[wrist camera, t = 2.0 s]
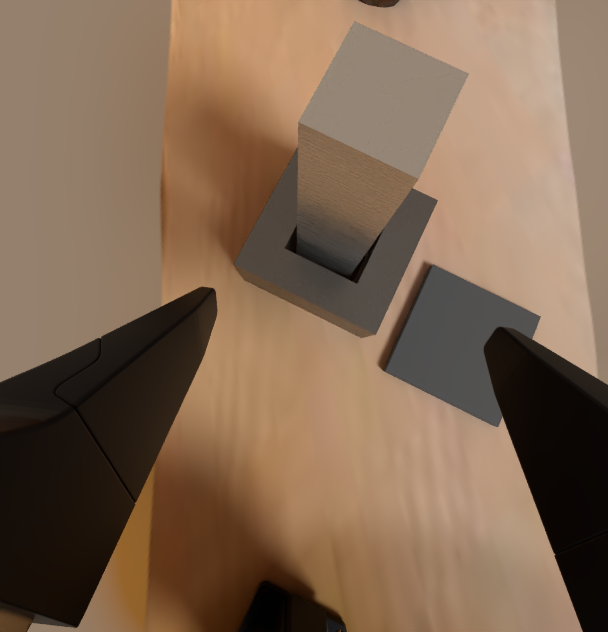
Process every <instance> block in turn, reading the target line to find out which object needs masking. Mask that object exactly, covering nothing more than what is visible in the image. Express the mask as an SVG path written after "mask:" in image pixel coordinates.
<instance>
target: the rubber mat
mask: <svg viewBox="0 0 608 632" xmlns="http://www.w3.org/2000/svg"><path fill="white" fill-rule="evenodd" d="M539 320H540V316H538V315H536V314H534V313H532V312H530V311H528V310H526V309H524V308H522V307H520V306H518V305H516V304H514V303H511V302H509V301H507V300H505V299H503V298H501V297H499V296H497V295H495V294H493V293H491V292H489V291H487V290H485V289H483V288H480V287H478V286H476V285H474V284H472V283H470V282H468V281H466V280H464V279H462V278H460V277H458V276H456V275H454V274H451V273H449V272H447V271H445V270H443V269H441V268H439V267H437V266H435V265H432V266H430V267H429V270H428V272H427V274H426V276H425V278H424V281H423V283H422V285H421V287H420V290H419V292H418V294H417V296H416V298H415V301H414V303H413V305H412V307H411V310H410V312H409V314H408V316H407V318H406V321H405V323H404V325H403V327H402V330H401V332H400V334H399V336H398V338H397V341H396V343H395V345H394V347H393V349H392V352H391V354H390V356H389V358H388V361H387V363H386V365H385V367H384V369H383V371H385V372H387V373H389V374H391V375H393V376H395V377H397V378H399V379H401V380H403V381H405V382H407V383H409V384H411V385H413V386H415V387H417V388H419V389H421V390H423V391H425V392H427V393H429V394H431V395H433V396H435V397H437V398H439V399H441V400H443V401H445V402H447V403H449V404H451V405H453V406H455V407H457V408H459V409H461V410H463V411H465V412H467V413H469V414H471V415H473V416H475V417H477V418H479V419H481V420H483V421H485V422H487V423H489V424H491V425H493V426H496V427H498V426H499V424H500V421H501V419H502V414H501V411H500V408H499V406H498V403H497V400H496V397H495V394H494V391H493V387H492V384H491V380H490V376H489V372H488V368H487V364H486V360H485V356H484V345H485V343H486V342H487V340H488V339H489V337H490V336H491V335H492V333H493V332H494V330H495V329H496V328H497V327H500V326H503V327H511V328H514V329H516V330H517V331H519V332H521V333H522V334H524V335H526V336H527V337H529V338H531V339H532V338H533V335H534V333H535V330H536V328H537V325H538V322H539Z"/></svg>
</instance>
